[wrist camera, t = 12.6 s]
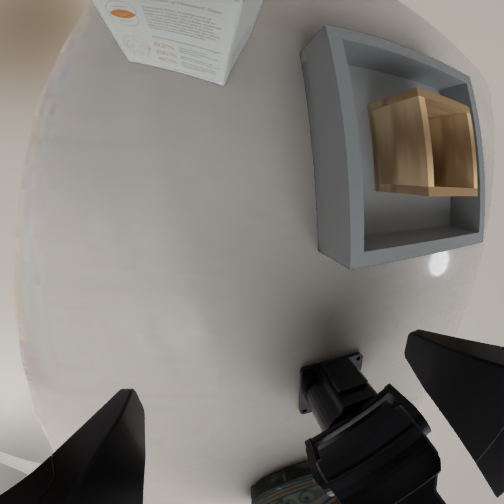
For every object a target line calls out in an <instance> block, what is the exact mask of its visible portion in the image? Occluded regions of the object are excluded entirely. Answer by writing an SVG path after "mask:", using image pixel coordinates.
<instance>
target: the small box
mask: <svg viewBox="0 0 504 504" xmlns="http://www.w3.org/2000/svg"><path fill="white" fill-rule="evenodd" d="M91 1H92V2H93V4H94V6H95V7H96V9H97V11H98V12H99V14H100V16H101V17H102V19H103V20H104V22H105V24H106V25H107V27H108V28H109V30H110V32H111V33H112V35H113V37H114V38H115V40H116V41H117V43H118V45H119V46H120V48H121V50H122V51H123V53H124V55H125V56H126V58H127V59H128V61H130V62H136V63H141V64H146V65H151V66H155V67H160V68H164V69H168V70H172V71H176V72H179V73H183V74H187V75H190V76H194V77H197V78H201V79H204V80H207V81H210V82H213V83H216V84H219V85H222V86H223V85H224V84H225V82H226V80H227V78H228V76H229V74H230V72H231V70H232V68H233V67H234V65H235V63H236V61H237V59H238V57H239V55H240V53H241V51H242V50H243V48H244V46H245V44H246V43H247V41H248V39H249V37H250V35H251V33H252V31H253V28H254V25H255V22H256V19H257V17H258V14H259V11H260V8H261V6H262V3H263V1H264V0H91Z"/></svg>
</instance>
